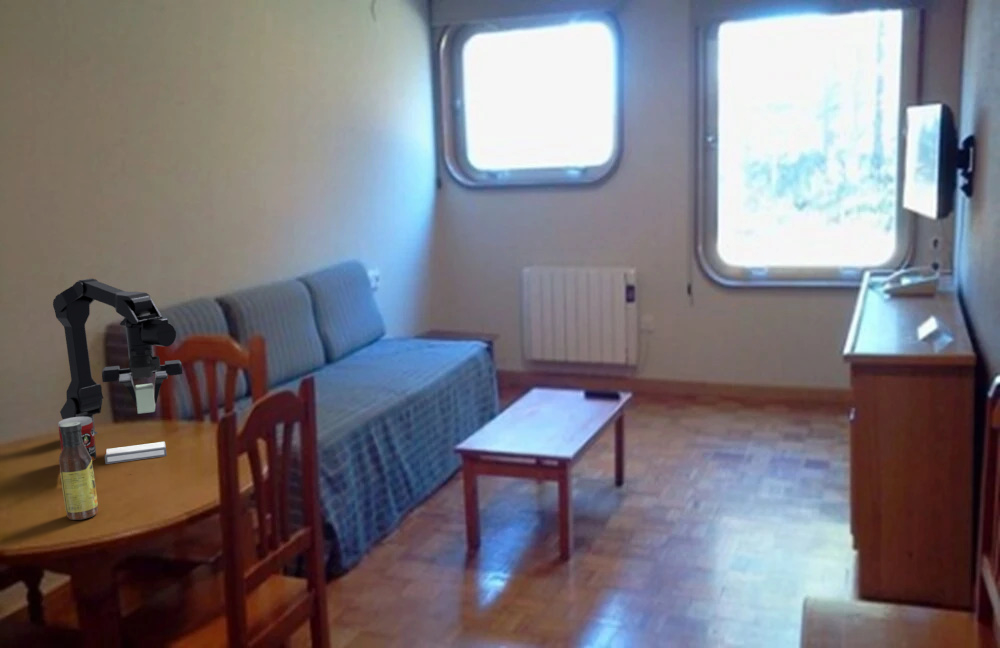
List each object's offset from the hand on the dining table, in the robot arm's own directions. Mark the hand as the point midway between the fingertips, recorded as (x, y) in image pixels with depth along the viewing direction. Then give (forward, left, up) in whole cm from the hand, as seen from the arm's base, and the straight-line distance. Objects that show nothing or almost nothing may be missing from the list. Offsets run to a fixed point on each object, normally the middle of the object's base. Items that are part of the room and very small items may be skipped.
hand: (146, 404), depth 236 cm
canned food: (+3, -16, -13) cm, 21 cm away
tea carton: (0, 0, -2) cm, 2 cm away
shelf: (+3, -4, -12) cm, 13 cm away
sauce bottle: (+41, -14, -13) cm, 46 cm away
